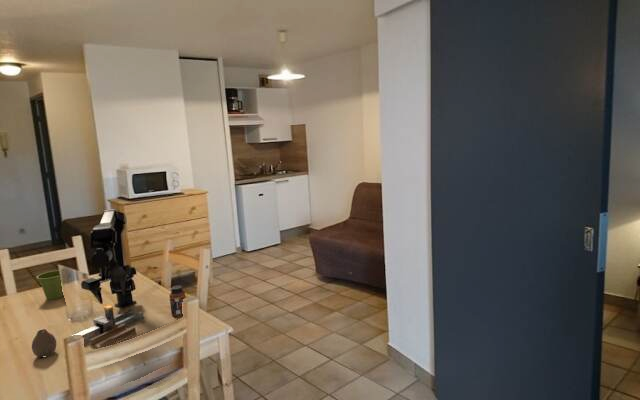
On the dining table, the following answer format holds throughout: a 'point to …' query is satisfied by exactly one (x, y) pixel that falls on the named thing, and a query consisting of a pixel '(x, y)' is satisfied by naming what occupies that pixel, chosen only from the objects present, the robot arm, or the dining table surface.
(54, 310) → the dining table surface
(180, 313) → the supplement bottle
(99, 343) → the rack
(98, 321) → the socket
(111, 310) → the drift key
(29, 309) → the dining table surface
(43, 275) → the plant pot
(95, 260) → the robot arm
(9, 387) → the dining table surface
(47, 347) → the vase
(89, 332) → the bar
